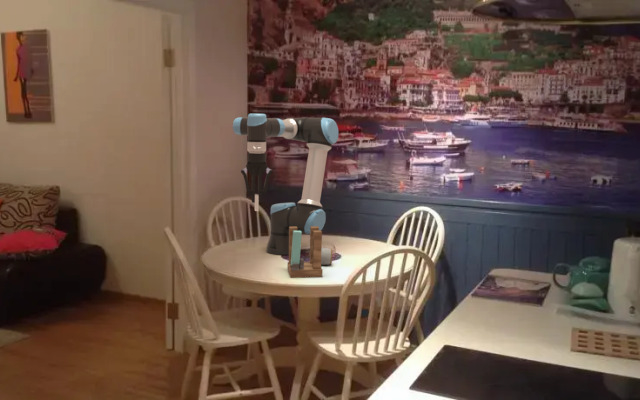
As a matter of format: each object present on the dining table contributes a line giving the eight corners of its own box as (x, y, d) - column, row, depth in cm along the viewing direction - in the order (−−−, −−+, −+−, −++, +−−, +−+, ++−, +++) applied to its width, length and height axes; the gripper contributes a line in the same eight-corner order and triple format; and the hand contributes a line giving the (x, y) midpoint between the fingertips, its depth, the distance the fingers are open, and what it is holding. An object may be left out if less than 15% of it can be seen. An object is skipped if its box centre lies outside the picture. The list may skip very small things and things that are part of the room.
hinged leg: (290, 266, 254) (293, 230, 252) (298, 267, 255) (300, 230, 253) (291, 269, 251) (294, 232, 249) (299, 269, 252) (301, 232, 249)
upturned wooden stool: (287, 269, 263) (288, 226, 261) (317, 268, 265) (318, 226, 262) (290, 277, 250) (291, 232, 247) (322, 277, 252) (323, 232, 249)
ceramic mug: (332, 266, 269) (332, 249, 268) (313, 266, 268) (314, 249, 267) (330, 261, 279) (331, 244, 278) (312, 260, 279) (313, 244, 278)
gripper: (240, 153, 243) (240, 212, 247) (273, 153, 245) (273, 212, 249) (240, 151, 251) (240, 209, 254) (272, 151, 253) (271, 208, 256)
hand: (256, 210), depth 252 cm, fingers closed
